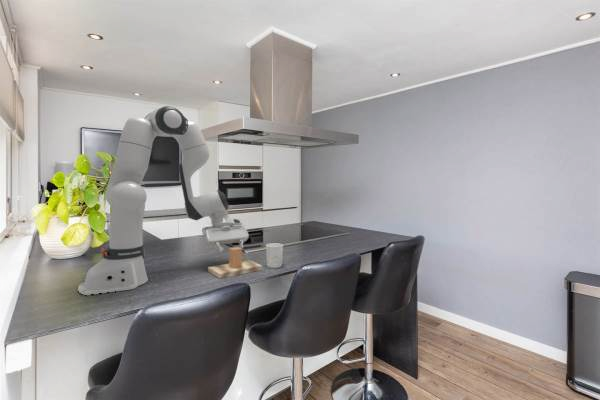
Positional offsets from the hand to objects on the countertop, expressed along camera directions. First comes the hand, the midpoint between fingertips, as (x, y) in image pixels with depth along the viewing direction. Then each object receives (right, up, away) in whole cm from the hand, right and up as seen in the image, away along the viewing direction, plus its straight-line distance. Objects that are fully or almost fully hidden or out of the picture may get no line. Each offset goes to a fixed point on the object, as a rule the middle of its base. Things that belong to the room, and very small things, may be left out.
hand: (232, 250), depth 134 cm
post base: (+2, -9, -1) cm, 9 cm away
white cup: (+18, -9, +7) cm, 21 cm away
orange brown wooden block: (+2, -7, -1) cm, 7 cm away
